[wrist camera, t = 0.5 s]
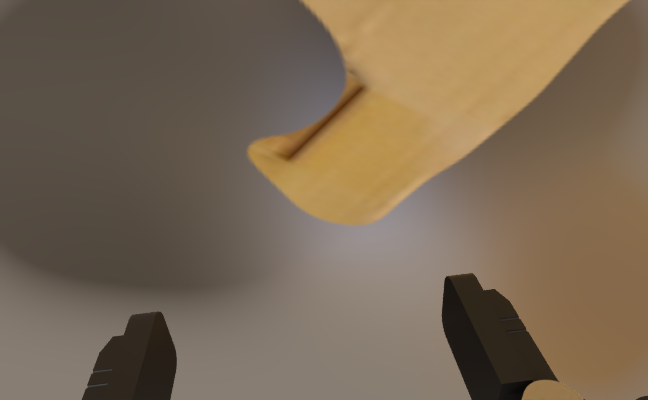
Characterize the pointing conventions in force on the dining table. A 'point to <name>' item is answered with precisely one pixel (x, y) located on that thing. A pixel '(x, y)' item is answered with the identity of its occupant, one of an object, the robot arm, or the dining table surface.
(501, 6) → the dining table surface
